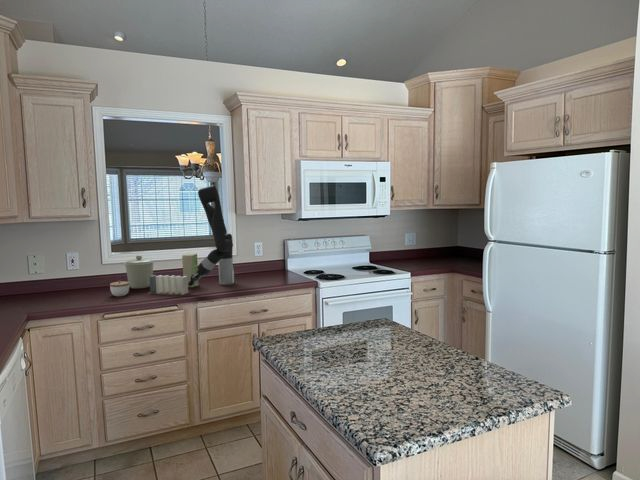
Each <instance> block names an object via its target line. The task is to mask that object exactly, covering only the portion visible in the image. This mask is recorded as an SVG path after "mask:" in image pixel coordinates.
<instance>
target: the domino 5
mask: <svg viewBox="0 0 640 480" xmlns="http://www.w3.org/2000/svg"><path fill="white" fill-rule="evenodd" d="M181 277H182V276H181V275H176V276H175V277H174V286H175V294H179V293H181V282H180V278H181Z"/></svg>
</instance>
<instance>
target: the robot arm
mask: <svg viewBox="0 0 640 480" xmlns="http://www.w3.org/2000/svg"><path fill="white" fill-rule="evenodd" d="M197 196H198V199H199V201H200V203H201V205H202V207H203V210H204V212H205V215H206V218H207V222H208V225H209V227H210V229H211V231H212V236H213V239H214V240H213V241H214V246H215V249H213V250H211V251H210V252H209V254H208V255H206V256H205V257H204V258H203V259H202V260H201V262H200V263H198V267H197V268H198V271H196V272H195V274H194V275H192V276H191V278H190V280H191V281H190V282H189V283H188V284H189V286H192V285H193V284H194V283H195V282H196V281H197V280H198V281H199V280H200V279H202V278H203V277H204V276H208V274H210V272H212V271H213V269H214V268H215V266H217V264H218V279H219V280H218V283H219V285H221V286H226V285H227V286H228V285H233V284H234V283H235V271H234V262H233V246H234V243H233V242H234V241H233V235H232V234H231V233H227V227H226V224H225V220H224V216H223V210H222V206H221V205H222V204H221V199H220V195H219V191H218V189H217V187H216V185H209V186H205V187H202V188H199V189H198V192H197ZM211 203H214V205H215V206H212V205H211Z"/></svg>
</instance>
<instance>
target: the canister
mask: <svg viewBox="0 0 640 480" xmlns="http://www.w3.org/2000/svg"><path fill="white" fill-rule="evenodd" d="M154 263H155V260H152V259H150V258H143V256H142V255H141V254H137V255H136V256H135V258H134V259H130V260H126V261H125V262H124V263H123V265H124V266H125V270H126V276H127V277H126V278H127V282H129V288H131V289H135V290H137V289H147V288H150V276H153V275H154Z"/></svg>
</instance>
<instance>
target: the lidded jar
mask: <svg viewBox="0 0 640 480" xmlns="http://www.w3.org/2000/svg"><path fill="white" fill-rule="evenodd" d="M109 289H110V292H111V294H112V295H113V296H115V297H123V296H127V294H129V291H130V286H129V282H128V280H127V281H123V280H122V281H121V280H120V279H119V280H118V281H115V282H111V283H110V284H109Z"/></svg>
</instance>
